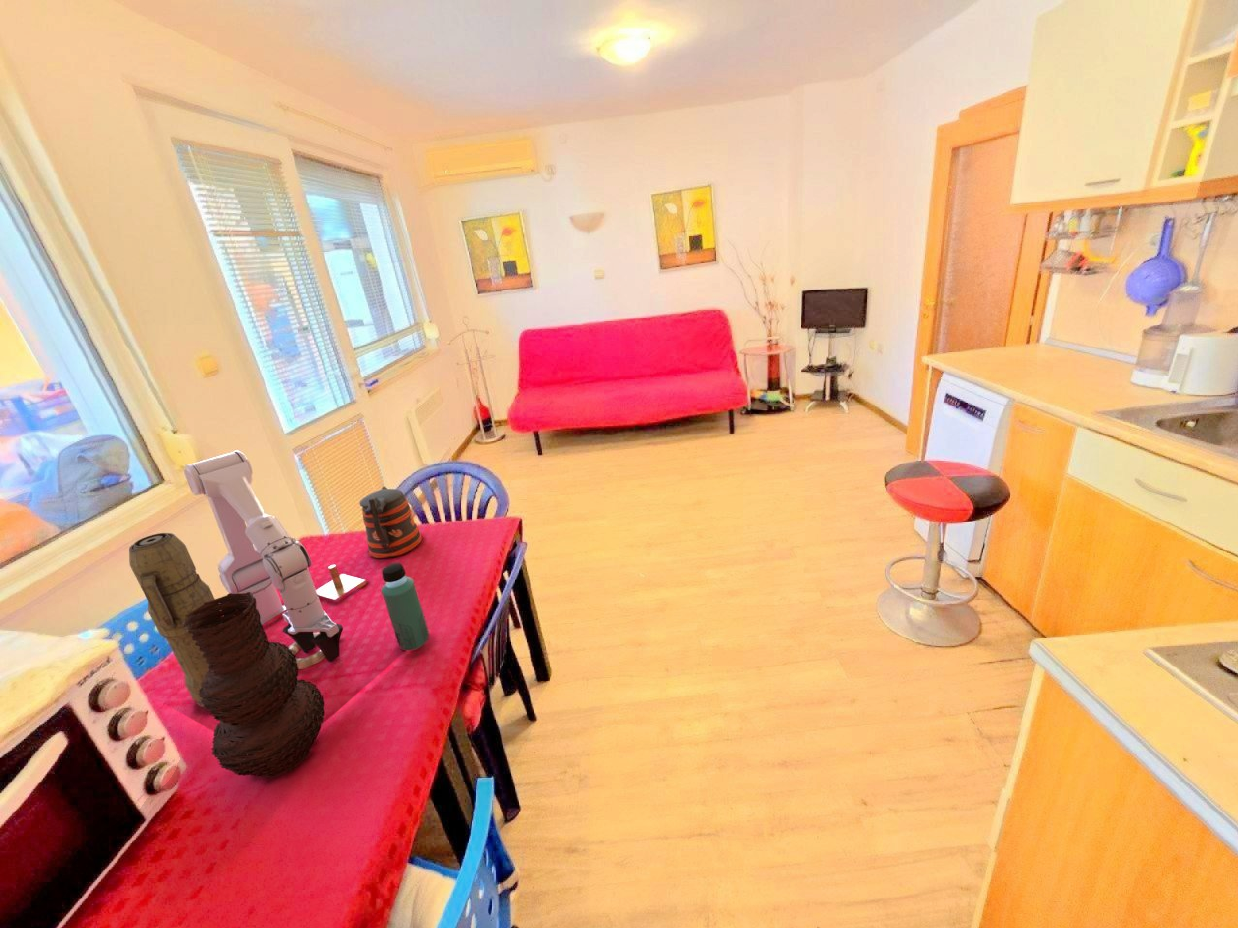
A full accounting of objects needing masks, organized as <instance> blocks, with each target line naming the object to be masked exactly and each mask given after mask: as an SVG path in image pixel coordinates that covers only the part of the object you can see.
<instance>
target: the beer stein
mask: <svg viewBox="0 0 1238 928" xmlns="http://www.w3.org/2000/svg"><path fill="white" fill-rule="evenodd" d="M359 506H360V507H361V513H362V520H363V525H364V526H365V533H366V545H367V548H368V553H369V555H370V556H371V557H373V558H376V559H388V558H395V557H397V556H398V557H399V556H402V555H405V554H406V553H408V552H411V551H413V550H414V549H416V548H417V547H418V546H419V545H420V543H421V542H422V535H421V532H420V529H419V527H418V525H417V523H416V522H415V520H414V517H413V514H412V509H411V506H410V504H409V502H408V498H407V497H406V496H405V494H404V493H403V491H402V490H400V489H394V488H387V487H386V486H383V487H382V488H381V489H380V490H377V491H374V492H372V493H370V494H368V495H366V496H364V497H362V498H361V499H360V500H359Z"/></svg>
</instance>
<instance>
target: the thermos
mask: <svg viewBox="0 0 1238 928" xmlns="http://www.w3.org/2000/svg"><path fill="white" fill-rule="evenodd" d="M128 561H129V567H130V568H131V571H132V573H133V574H134V577H135V578H136V580H137V582H138V584H139V586H140V588H141V589H142V590H141V591H142V592H143V594H144V596H145V598H146V600H147V612H148V614H149V616H150V618H151V620H152V622H153V624H154V626H155V628H156V629H157V632H158V633H159V635H160V636H161V637H162V638H165V639H166V641H167V643H168V645H169V647H170V649H171V651H172V653H173V655H174V657H175V659H176V660H177V663H178V664H179V667H180V668H181V670H182V672H183V674H184V685H185V687H186V689H187V691H188V693H189V694H190V696H191V698H192V700H193V701H194V702H196V704H197V705H198V706H199V707H200V708H204V707H203V706H204V704H202V702H201V701H202V697H200V695H199V694H198V693H200V692H199V690H200V689H201V688H202V687H201V683H202V682H203V680H204V679H205V677H206V676H205V675H206V673H207V672H208V670H209V669H208V667H209V664H207V663H206V661H207V659H206V658H203V657H202V655H203V654H204V652H201V651H200V650H199V649H200V647H199V646H196V645H195V644H196V641H195V640H192V636H193V634H192V633H191V634H190V633H188V631H189V630H187V629H184V628H181V627H180V626H182V624H183V622H184V620H185V618H186V617H185V615H188V614H190V613H191V612H193V611H194V610H196V609H197V608H199V607H200V606H202V605H203V604H204V603H205V602H209V601H212V600H215V599H216V598H215V597H214V594H213V592H212V590H211V588H210V586H209V585H208V584H207V583H206V582H205V581H204V580H203V579H201V576H200V574H199V573H197V568H196V566H195V563H194V562H193V559H192V556H191V554H190V552H189V550H188V547H187V546H186V544H185V543H184V542H183V541H182V540H181V539H180V538H179V537H177V536H176V535H175V533H171V532H159V533H154V534H150V535H148V536H145V537H142V538H140V539H138V540H136V541H134V543H133V544H131V545H130V546H129V547H128ZM193 616H194V615H193ZM201 622H202V621H201ZM197 623H198V622H197ZM191 625H192V624H191ZM188 626H189V625H188ZM209 626H210V625H209ZM204 627H205V626H204ZM204 627H203V628H204ZM186 628H187V626H186ZM199 629H200V628H199ZM196 630H197V629H196ZM211 671H212V670H211Z"/></svg>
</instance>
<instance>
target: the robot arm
mask: <svg viewBox="0 0 1238 928" xmlns="http://www.w3.org/2000/svg"><path fill="white" fill-rule="evenodd" d="M183 473H184V476H185V479H186V482H187V484H188V486H189V489H190V491H191V493H192V494H193V495H194V496H200V495H204V496H205V497H206V499H207V501H208V503H209V506H210V508H211V512H212V513H213V516H214V519H215V521H216V524H217V527H218V530H219V532H220V534H221V537H222V540H223V542H224V545H225V547H226V549H227V554H225V556H224V557H223V558H222V559H221V560H220V561H219V563H217V570H218V573H219V576H218V577H219V580H220V582H221V584H222V587H224V589H225V590H226V592H227V594H229V593H231V594H237V593H247V592H251V595H253V597H255V599H256V605H257V607H256V609H257V610H258V611H259V614H260V617H261V620H260V622H261V624H262V625H264V624H266V623H267V622H269V621H271V620H272V619H274V618H275V617H277V616H278V615H280V614H281V613H282V614H281V615H282V618H283V621H284V622H285V623H287V625H286V626H284V627H283V629H282V633H284V634H286V635H287V636H289V637H290V638H291V639H292V640H293V641H294V642H296V643H297V644H298V645H299V646H300V648H301V649H300V650H302V651H303V653H305V654H309V653H310V652H312V651H313V650H314V649H316V647H318V648H319V650H321V651H322V652H323V654H324V656H325V659H326V661H327V662H328V663H333V662H334V661H335V660H337V659H338V658H339V657H340V640H341V637H342V636H341V635H342V633H343V630H344V627H343V625H342V624H339V623H336V622H334V621H333V620H332V619H331V618H330V616H329V615H328V613H327V612H326V611H325V610H324V608H323V605H322V602H321V600H320V597H319V595H318V594H317V591H316V590H317V589H316V587H315V584H314V583H315V582H314V580H313V578H312V575H311V572H310V570H309V568H310V567H312V560H311V556H310V555H309V553H308V550H307V549H306V548H305V546H304V545H303V544H302V542H301V541H299V540H297V538H296V537H291V535H290V533H288V531H287V530H286V528H285V527H284V525H283V524H282V523H281V521H280V520H279V519H278V517H277V516H276V515H272V514H267V513H266V511H265V510H264V508H263V506H262V504H261V502H260V501H259V498H258V497H257V495H256V493H255V492H254V490H253V488H252V487H251V484H252V483H253V467H252V464H251V462H250V459H248V457H247V456H246V454H245V453H244V452H242V451H240V450H234V451H233V452H229V453H225V454H222V455H219V456H215V457H211V458H209V459H205V460H200V461H197V462H195V463H187V464H186V465H185V466H184V469H183ZM279 594H280V595H279ZM280 597H281V598H280ZM281 599H282V600H281ZM282 601H283V603H282ZM244 607H245V606H244ZM259 614H258V615H259ZM319 632H320V634H319V635H317V636H316V637H315V638H314V634H313V633H319Z"/></svg>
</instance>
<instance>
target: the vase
mask: <svg viewBox="0 0 1238 928" xmlns="http://www.w3.org/2000/svg"><path fill="white" fill-rule="evenodd" d="M214 599H215V600H212V601H209V602H205V603H204V604H203V605H202V606H200V607H199V608H197V609H196V610H194V611H193V612H191V613H190V614H188V615H185V617H186V618H185V620H184V622H183V624H182V626H180V627H181V628H184V629H187V630H189V631H188V633H190V634H191V633H192V634H193V636H192V640H195V641H196V644H195V645H196V646H199V647H200V649H199V650H200V651H201V652H204V654H203V655H202V657H203V658H206V659H207V661H206V663H207V664H209V667H208V669H209V670H208V672H207V673H206V675H205V676H206V677H205V679H204V680H203V682H202V683H201V687H202V688H201V689H200V690H199V692H200V693H198V694H199V695H200V697H202V701H201V702H202V704H204V706H203V707H202V708H203V709H204V710H205V711H207V712H210V713H209V714H210V715H211V716H212V717H213V720H216V721H219V722H218V723H217V724H216V726H215V728H214V729H213V738H212V747H211V751H212V752H211V754H212V755H213V756H214V757H215V758H216V760H218V765H220V768H222V769H225V770H228V771H230V772H232V773H234V774H236V776H240V777H241V776H243V777H246V776H250V777H256V778H257V777H264V778H268V779H269V780H270V779H274V778H276V777H278V776H282V775H283V774H286V773H290V772H291V771H293V769H294V768H296V767H297V766H298V765H300V763H302V762H303V760H306V759H307V757H308V756H309V753H310V751H311V749H312V746H313V744H314V742H315V740H317V738H318V737H319V733H320V731H321V728H322V726H323V725H322V724H323V722H324V719H325V718H324V716H325V704H326V703H325V698H324V695H322V693H321V691H320V690H319V688H317V685H316V684H313V683H312V682H311V681H309V680H305V679H298V676H299V674H300V673H299V670H300V669H299V668H297V663H296V662H297V660H296V658H297V657H296V655H294V654H293V653H292V651H291V650H289V645H286V644H284V643H281V642H278V641H277V642H276V641H269V638H268V635H267V633H266V631H265V630H264V624H261V622H260V620H261V617H260V614H259V611H258V610H257V609H256V607H257V605H256V599H255V597H253V595H251V592H247V593H237V594H231V593H227V594H226V595H223V596H221V597H217V598H214ZM244 606H245V607H244ZM258 614H259V615H258ZM193 615H194V616H193ZM201 621H202V622H201ZM197 622H198V623H197ZM191 624H192V625H191ZM188 625H189V626H188ZM209 625H210V626H209ZM186 626H187V628H186ZM204 626H205V627H204ZM203 627H204V628H203ZM199 628H200V629H199ZM196 629H197V630H196ZM211 670H212V671H211Z"/></svg>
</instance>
